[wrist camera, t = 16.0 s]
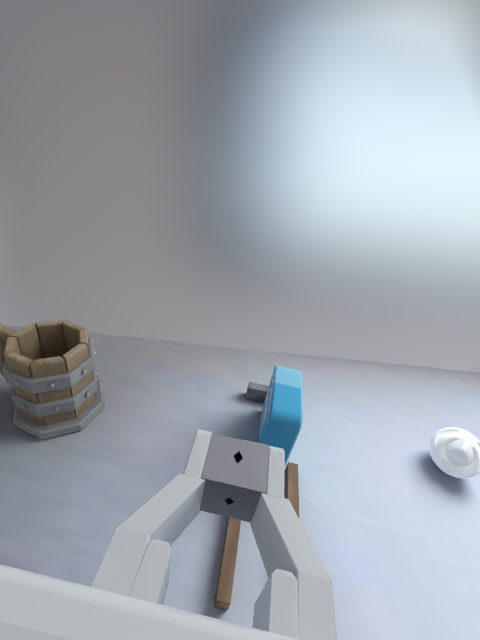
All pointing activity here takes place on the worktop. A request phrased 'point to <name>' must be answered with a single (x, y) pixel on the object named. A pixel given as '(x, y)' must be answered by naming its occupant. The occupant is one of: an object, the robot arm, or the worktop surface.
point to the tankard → (51, 377)
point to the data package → (282, 410)
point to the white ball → (456, 452)
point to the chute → (233, 526)
